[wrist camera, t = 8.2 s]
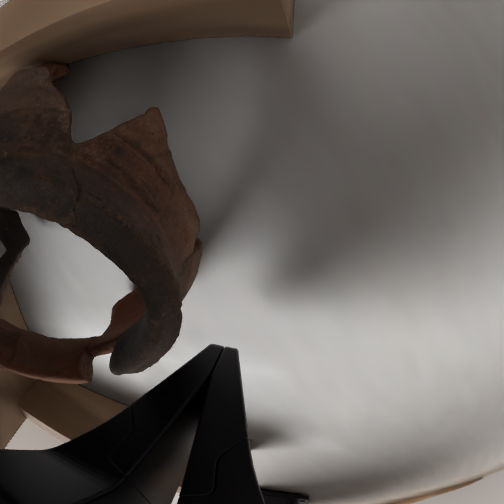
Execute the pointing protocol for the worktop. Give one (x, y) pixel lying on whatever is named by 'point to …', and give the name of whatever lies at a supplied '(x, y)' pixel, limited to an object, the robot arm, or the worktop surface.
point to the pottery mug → (95, 225)
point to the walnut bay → (73, 49)
